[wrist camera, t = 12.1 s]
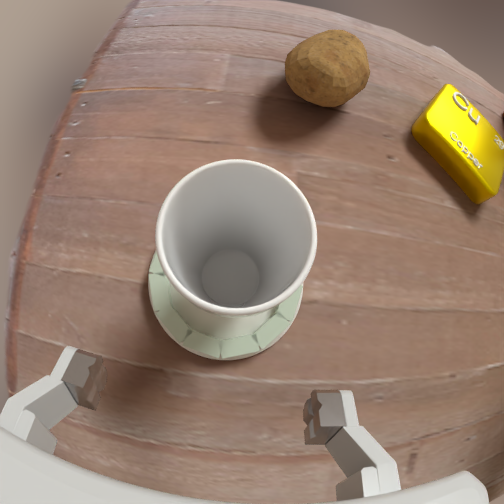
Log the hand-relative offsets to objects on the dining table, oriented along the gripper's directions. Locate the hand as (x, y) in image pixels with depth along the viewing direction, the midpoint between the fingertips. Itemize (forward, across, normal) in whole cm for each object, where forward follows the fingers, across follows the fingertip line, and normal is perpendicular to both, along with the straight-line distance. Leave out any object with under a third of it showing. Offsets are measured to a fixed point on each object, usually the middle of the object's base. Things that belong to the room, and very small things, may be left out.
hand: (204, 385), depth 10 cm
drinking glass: (+15, 0, +7) cm, 16 cm away
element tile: (+33, -31, -10) cm, 46 cm away
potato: (+34, -8, -11) cm, 37 cm away
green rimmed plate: (+15, 0, +7) cm, 17 cm away
